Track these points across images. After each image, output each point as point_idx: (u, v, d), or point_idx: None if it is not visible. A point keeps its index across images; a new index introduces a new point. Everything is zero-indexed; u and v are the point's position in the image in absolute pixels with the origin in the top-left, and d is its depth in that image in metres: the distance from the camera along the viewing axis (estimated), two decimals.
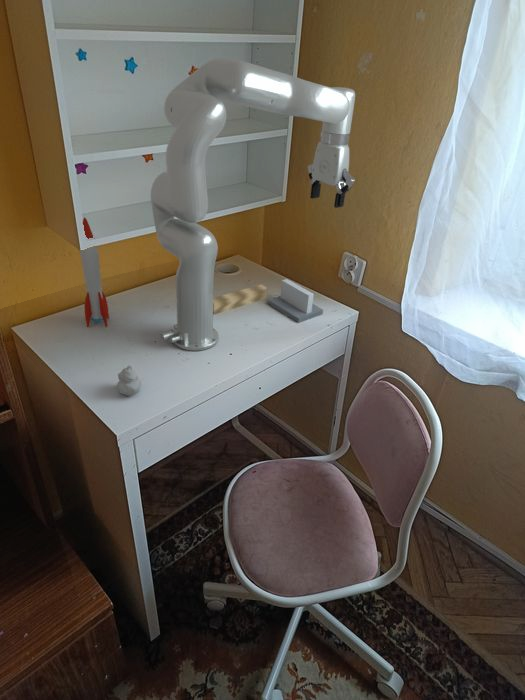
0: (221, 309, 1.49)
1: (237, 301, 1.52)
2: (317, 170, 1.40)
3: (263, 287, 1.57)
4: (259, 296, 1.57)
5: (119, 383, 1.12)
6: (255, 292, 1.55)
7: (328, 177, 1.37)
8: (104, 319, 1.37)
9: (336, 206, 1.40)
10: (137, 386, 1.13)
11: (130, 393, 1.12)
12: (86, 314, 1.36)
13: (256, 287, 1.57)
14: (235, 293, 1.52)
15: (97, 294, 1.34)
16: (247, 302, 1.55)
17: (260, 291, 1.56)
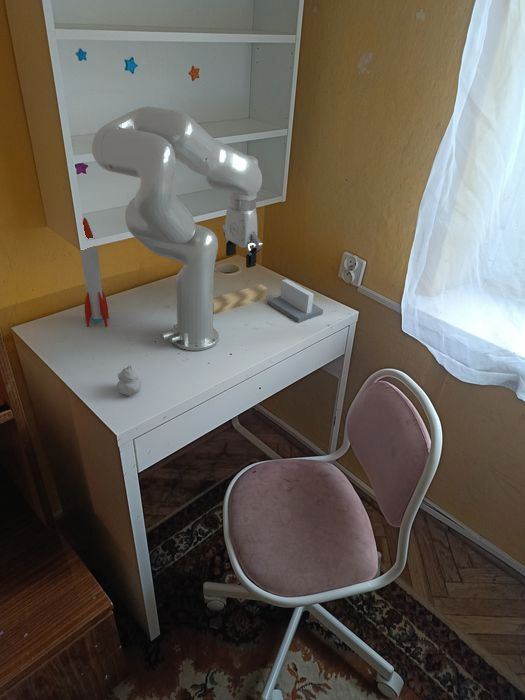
0: (221, 309, 1.49)
1: (237, 301, 1.52)
2: (228, 231, 1.43)
3: (263, 287, 1.57)
4: (259, 296, 1.57)
5: (119, 383, 1.12)
6: (255, 292, 1.55)
7: (238, 239, 1.40)
8: (104, 319, 1.37)
9: (248, 266, 1.43)
10: (137, 386, 1.13)
11: (130, 393, 1.12)
12: (86, 314, 1.36)
13: (256, 288, 1.57)
14: (235, 293, 1.52)
15: (97, 294, 1.34)
16: (247, 302, 1.55)
17: (260, 291, 1.56)
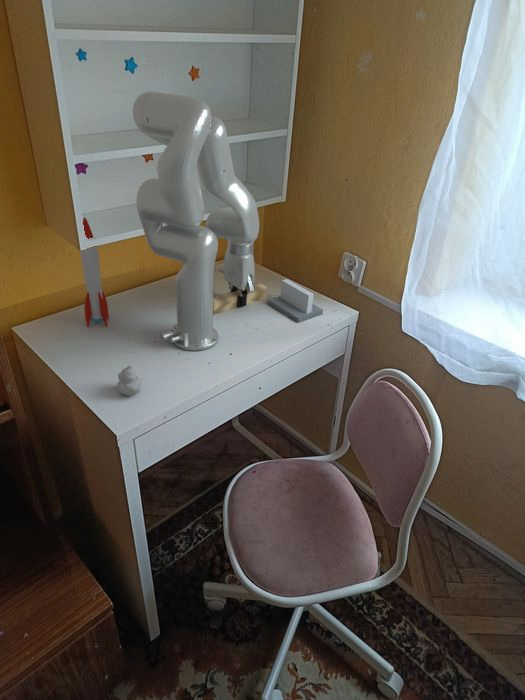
0: (221, 308, 1.49)
1: None
2: (227, 273, 1.49)
3: (263, 286, 1.57)
4: (259, 296, 1.57)
5: (119, 383, 1.12)
6: (255, 291, 1.55)
7: (235, 281, 1.47)
8: (104, 319, 1.37)
9: (239, 306, 1.53)
10: (137, 386, 1.13)
11: (130, 393, 1.12)
12: (86, 314, 1.36)
13: (256, 287, 1.57)
14: (235, 292, 1.52)
15: (97, 294, 1.34)
16: (247, 301, 1.55)
17: (260, 290, 1.56)
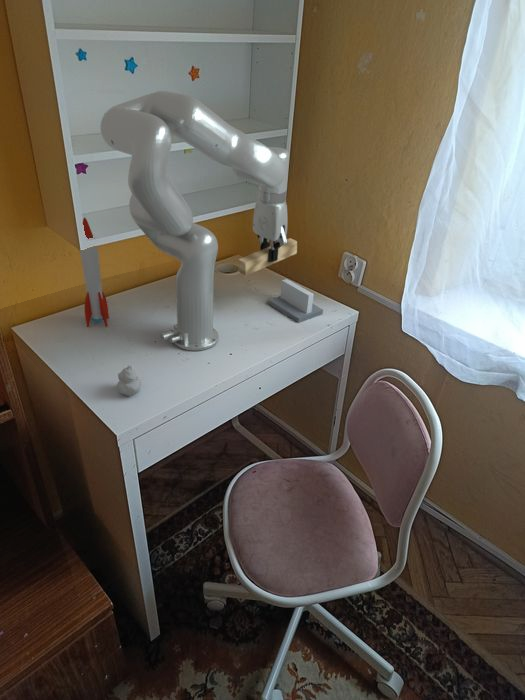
0: (252, 268, 1.42)
1: None
2: (257, 225, 1.41)
3: (293, 241, 1.49)
4: (289, 251, 1.49)
5: (119, 383, 1.12)
6: (285, 247, 1.47)
7: (267, 233, 1.39)
8: (104, 319, 1.37)
9: (270, 261, 1.44)
10: (137, 386, 1.13)
11: (130, 393, 1.12)
12: (86, 314, 1.36)
13: None
14: (265, 250, 1.45)
15: (97, 294, 1.34)
16: (278, 258, 1.47)
17: (290, 245, 1.48)
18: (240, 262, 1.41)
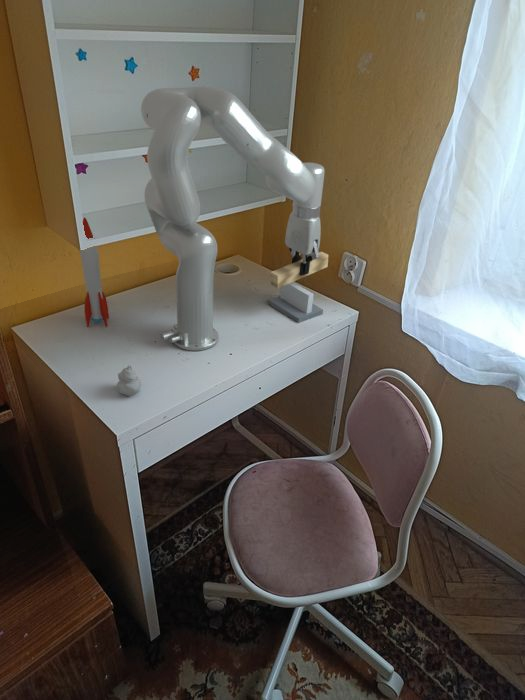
0: (284, 281, 1.43)
1: None
2: (290, 239, 1.42)
3: (324, 254, 1.50)
4: (320, 265, 1.50)
5: (119, 383, 1.12)
6: (317, 260, 1.48)
7: (300, 247, 1.40)
8: (104, 319, 1.37)
9: (301, 274, 1.46)
10: (137, 386, 1.13)
11: (130, 393, 1.12)
12: (86, 314, 1.36)
13: None
14: (297, 263, 1.46)
15: (97, 294, 1.34)
16: (309, 272, 1.48)
17: (321, 259, 1.49)
18: (272, 275, 1.42)
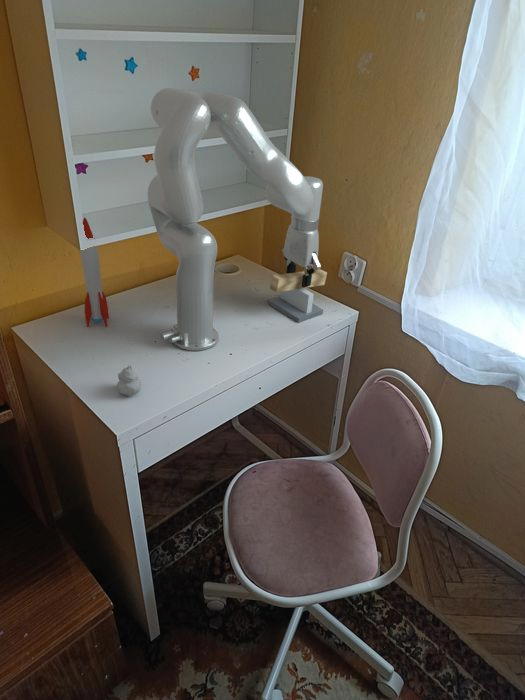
0: (284, 286, 1.44)
1: (299, 281, 1.47)
2: (288, 251, 1.44)
3: (323, 272, 1.54)
4: (318, 281, 1.53)
5: (119, 383, 1.12)
6: (316, 275, 1.51)
7: (298, 259, 1.42)
8: (104, 319, 1.37)
9: (303, 286, 1.46)
10: (137, 386, 1.13)
11: (130, 393, 1.12)
12: (86, 314, 1.36)
13: (316, 271, 1.53)
14: (297, 273, 1.48)
15: (97, 294, 1.34)
16: None
17: (320, 275, 1.52)
18: (273, 278, 1.43)
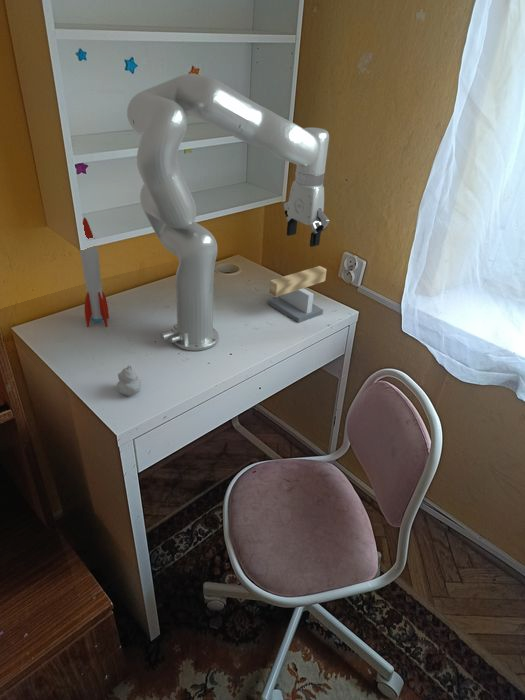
0: (283, 290, 1.45)
1: (298, 282, 1.47)
2: (292, 209, 1.38)
3: (323, 269, 1.53)
4: (318, 278, 1.52)
5: (119, 383, 1.12)
6: (315, 273, 1.51)
7: (303, 216, 1.35)
8: (104, 319, 1.37)
9: (311, 245, 1.38)
10: (137, 386, 1.13)
11: (130, 393, 1.12)
12: (86, 314, 1.36)
13: (315, 269, 1.52)
14: (296, 274, 1.48)
15: (97, 294, 1.34)
16: (307, 284, 1.50)
17: (320, 272, 1.52)
18: (272, 283, 1.43)
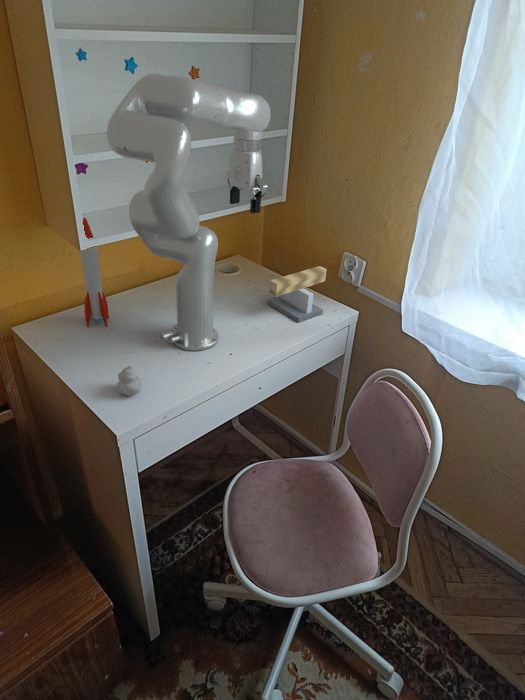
0: (283, 290, 1.45)
1: (298, 282, 1.47)
2: (232, 176, 1.39)
3: (323, 269, 1.53)
4: (318, 278, 1.52)
5: (119, 383, 1.12)
6: (315, 274, 1.51)
7: (242, 183, 1.37)
8: (104, 319, 1.37)
9: (252, 212, 1.40)
10: (137, 386, 1.13)
11: (130, 393, 1.12)
12: (86, 314, 1.36)
13: (315, 269, 1.52)
14: (296, 274, 1.48)
15: (97, 294, 1.34)
16: (307, 284, 1.50)
17: (320, 272, 1.52)
18: (272, 283, 1.43)
